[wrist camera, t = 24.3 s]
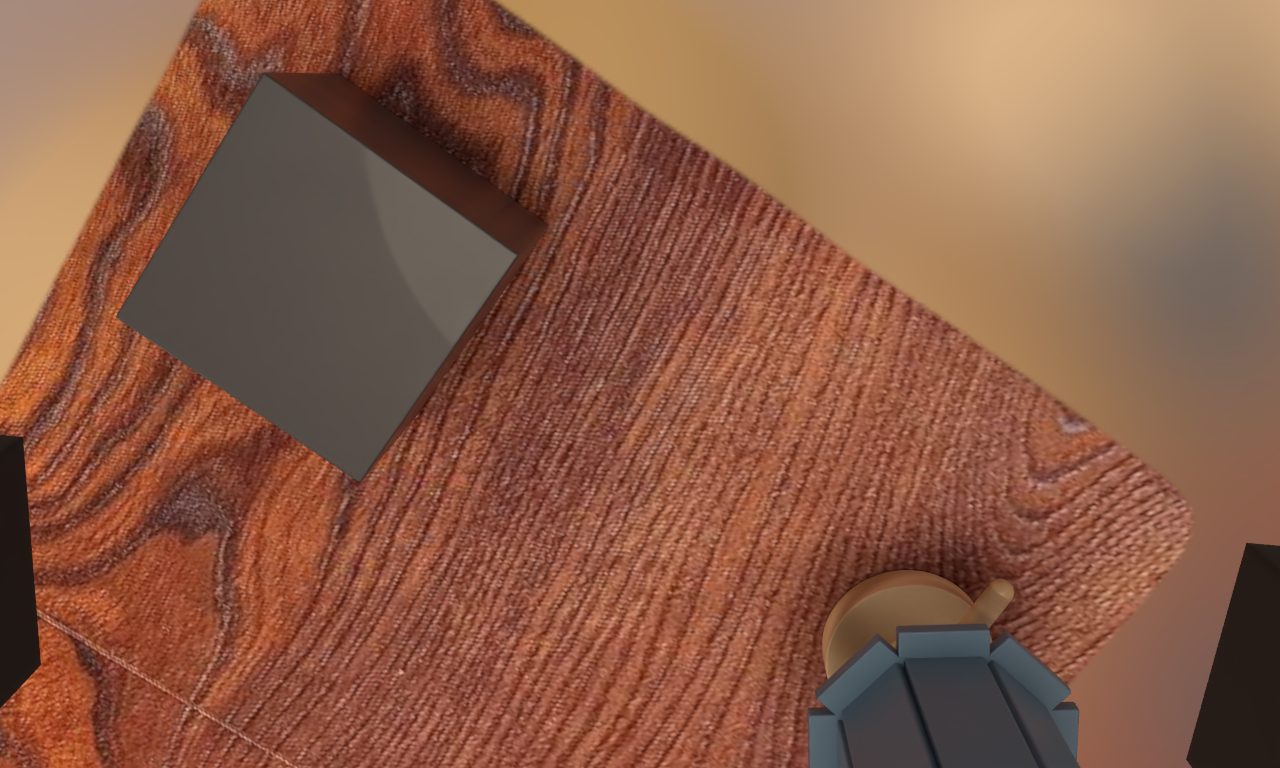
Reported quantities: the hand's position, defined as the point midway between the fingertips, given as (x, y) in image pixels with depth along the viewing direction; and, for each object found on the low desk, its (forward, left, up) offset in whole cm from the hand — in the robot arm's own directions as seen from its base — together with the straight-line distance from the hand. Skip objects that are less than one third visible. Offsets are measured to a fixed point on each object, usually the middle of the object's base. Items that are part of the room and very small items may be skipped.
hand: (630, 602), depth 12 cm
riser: (+12, +1, -34) cm, 36 cm away
